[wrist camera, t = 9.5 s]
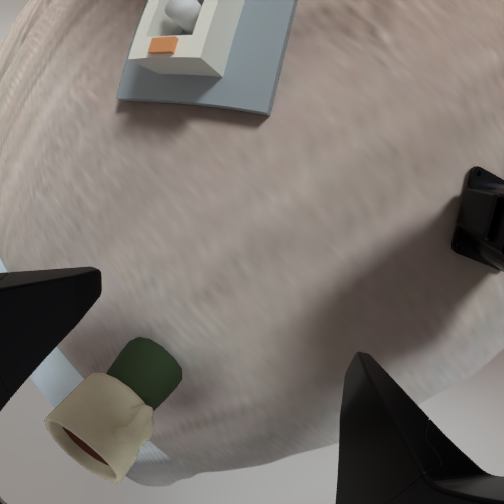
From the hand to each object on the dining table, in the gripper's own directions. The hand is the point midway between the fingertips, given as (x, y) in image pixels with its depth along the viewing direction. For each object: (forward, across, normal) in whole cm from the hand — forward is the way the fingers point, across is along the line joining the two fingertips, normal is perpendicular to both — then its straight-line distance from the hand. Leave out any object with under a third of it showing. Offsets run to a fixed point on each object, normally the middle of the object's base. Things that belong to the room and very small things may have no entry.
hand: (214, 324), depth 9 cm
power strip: (+11, +8, -18) cm, 22 cm away
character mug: (+12, +8, +15) cm, 21 cm away
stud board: (+12, +8, -18) cm, 23 cm away
